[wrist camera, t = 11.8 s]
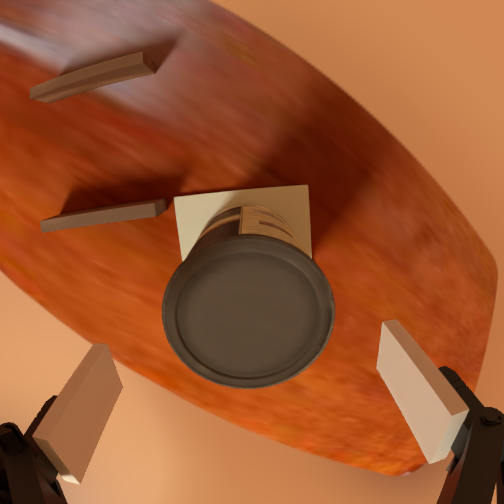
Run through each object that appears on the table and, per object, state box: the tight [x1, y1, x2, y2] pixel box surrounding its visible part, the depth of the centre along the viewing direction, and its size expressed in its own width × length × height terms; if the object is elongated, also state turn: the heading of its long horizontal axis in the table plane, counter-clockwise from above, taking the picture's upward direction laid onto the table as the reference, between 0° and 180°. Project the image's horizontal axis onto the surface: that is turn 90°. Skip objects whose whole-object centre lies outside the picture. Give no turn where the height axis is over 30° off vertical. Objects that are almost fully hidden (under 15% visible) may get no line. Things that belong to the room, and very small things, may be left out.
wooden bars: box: [30, 51, 167, 233], centre depth 27 cm, size 15×13×4 cm
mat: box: [174, 185, 312, 261], centre depth 32 cm, size 13×13×1 cm
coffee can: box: [162, 204, 335, 389], centre depth 25 cm, size 10×10×14 cm
